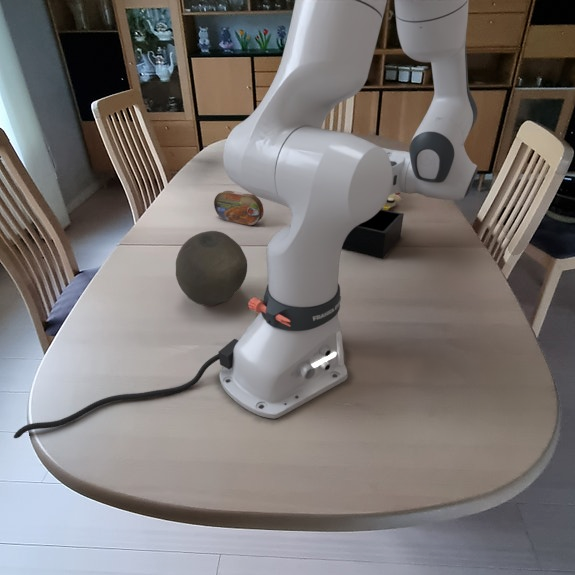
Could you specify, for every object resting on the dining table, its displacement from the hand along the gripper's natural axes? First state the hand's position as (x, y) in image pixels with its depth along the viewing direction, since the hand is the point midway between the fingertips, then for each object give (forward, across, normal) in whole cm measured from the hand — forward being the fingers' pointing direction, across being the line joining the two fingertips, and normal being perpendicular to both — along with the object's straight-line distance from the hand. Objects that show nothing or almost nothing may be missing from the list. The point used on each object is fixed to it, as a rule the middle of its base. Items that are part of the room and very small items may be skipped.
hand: (343, 162), depth 107 cm
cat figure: (0, -30, +20) cm, 36 cm away
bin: (-6, 0, +19) cm, 20 cm away
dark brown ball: (+10, +39, +20) cm, 45 cm away
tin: (+29, +5, +20) cm, 35 cm away
